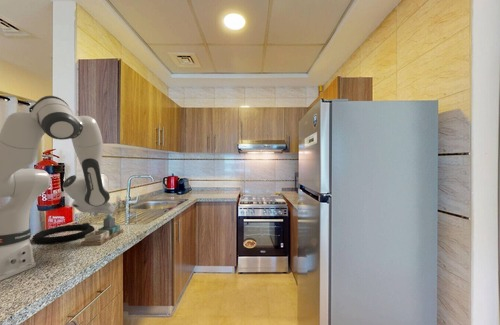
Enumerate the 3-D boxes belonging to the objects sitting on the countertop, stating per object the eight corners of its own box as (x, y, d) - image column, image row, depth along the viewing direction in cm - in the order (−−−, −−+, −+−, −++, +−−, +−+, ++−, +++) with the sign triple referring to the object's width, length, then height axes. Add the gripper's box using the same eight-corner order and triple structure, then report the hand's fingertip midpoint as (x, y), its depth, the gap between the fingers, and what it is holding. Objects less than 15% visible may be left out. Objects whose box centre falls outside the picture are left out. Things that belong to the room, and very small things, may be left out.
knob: (109, 233, 132) (109, 215, 132) (103, 233, 133) (103, 215, 133) (115, 231, 136) (114, 214, 136) (109, 231, 137) (109, 213, 137)
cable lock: (16, 237, 121) (67, 221, 151) (16, 244, 121) (67, 227, 151) (66, 238, 118) (108, 222, 148) (66, 246, 118) (108, 228, 148)
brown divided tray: (100, 245, 118) (100, 236, 118) (80, 245, 118) (80, 236, 118) (123, 231, 140) (123, 224, 140) (106, 232, 140) (106, 224, 140)
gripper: (109, 196, 123) (123, 211, 132) (76, 195, 126) (91, 209, 136) (103, 206, 118) (117, 220, 128) (68, 204, 122) (84, 219, 131)
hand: (103, 215), depth 132 cm, fingers open, 8 cm apart
